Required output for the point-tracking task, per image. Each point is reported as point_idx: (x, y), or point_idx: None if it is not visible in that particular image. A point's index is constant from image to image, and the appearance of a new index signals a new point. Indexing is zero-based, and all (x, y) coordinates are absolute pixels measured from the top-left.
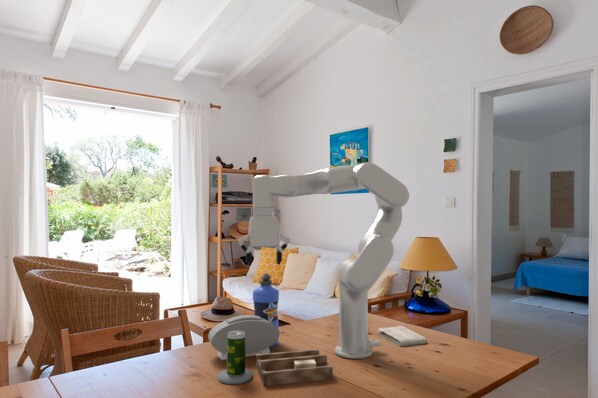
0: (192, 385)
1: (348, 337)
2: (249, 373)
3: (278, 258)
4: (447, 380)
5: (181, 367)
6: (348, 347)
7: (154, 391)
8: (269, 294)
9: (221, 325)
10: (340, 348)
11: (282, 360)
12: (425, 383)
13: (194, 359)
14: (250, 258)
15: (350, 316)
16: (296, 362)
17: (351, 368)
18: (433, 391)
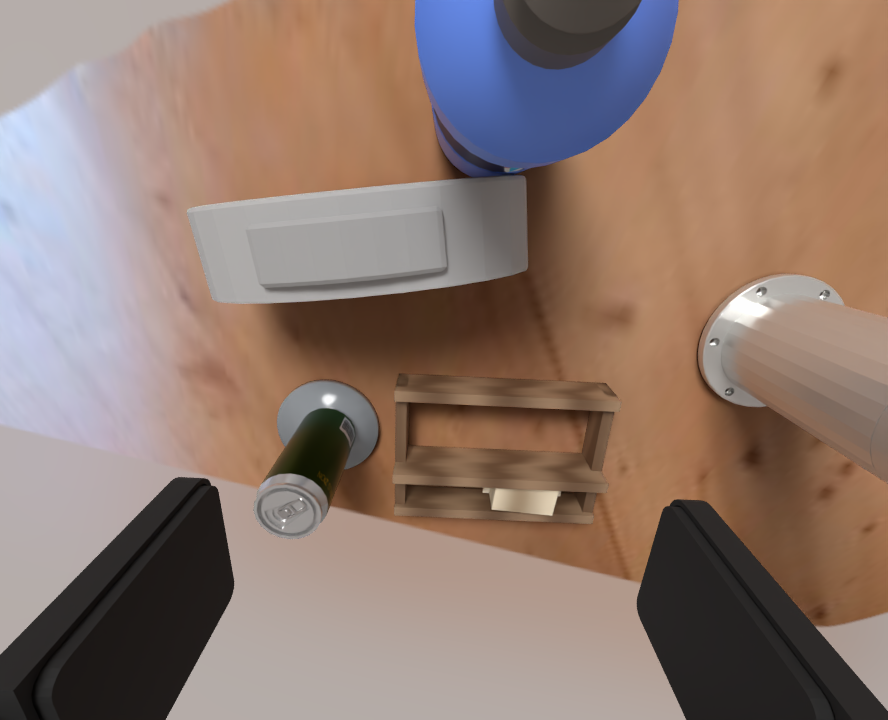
0: (214, 441)
1: (769, 404)
2: (369, 432)
3: (685, 703)
4: (834, 576)
5: (156, 302)
6: (742, 388)
7: (120, 449)
8: (538, 162)
9: (231, 258)
10: (727, 347)
11: (460, 484)
12: (773, 575)
13: (189, 234)
14: (160, 703)
15: (850, 459)
16: (499, 498)
17: (670, 456)
18: None
